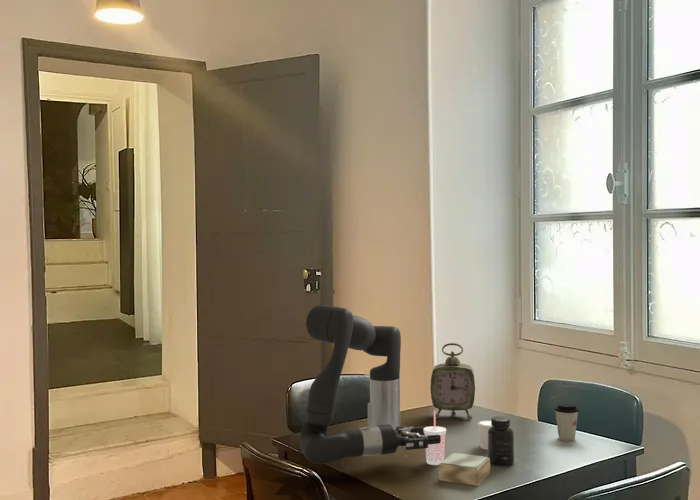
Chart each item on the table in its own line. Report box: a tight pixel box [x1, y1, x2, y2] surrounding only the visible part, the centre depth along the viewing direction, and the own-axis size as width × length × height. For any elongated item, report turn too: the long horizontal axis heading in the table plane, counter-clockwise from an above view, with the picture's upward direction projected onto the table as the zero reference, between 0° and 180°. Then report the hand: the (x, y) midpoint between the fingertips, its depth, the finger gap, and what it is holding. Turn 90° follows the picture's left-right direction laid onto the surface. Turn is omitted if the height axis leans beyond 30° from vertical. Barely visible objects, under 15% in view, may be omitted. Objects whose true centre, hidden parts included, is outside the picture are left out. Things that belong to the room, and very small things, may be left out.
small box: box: [438, 452, 491, 487], centre depth 182 cm, size 10×10×4 cm
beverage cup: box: [423, 410, 447, 466], centre depth 194 cm, size 6×6×14 cm
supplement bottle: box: [487, 415, 515, 467], centre depth 193 cm, size 7×7×12 cm
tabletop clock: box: [430, 342, 476, 421], centre depth 242 cm, size 14×9×25 cm, turn 81°
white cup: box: [477, 419, 492, 451], centre depth 208 cm, size 7×7×7 cm
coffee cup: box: [553, 402, 580, 442], centre depth 216 cm, size 7×7×10 cm
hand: (433, 434), depth 194 cm, fingers open, 8 cm apart
